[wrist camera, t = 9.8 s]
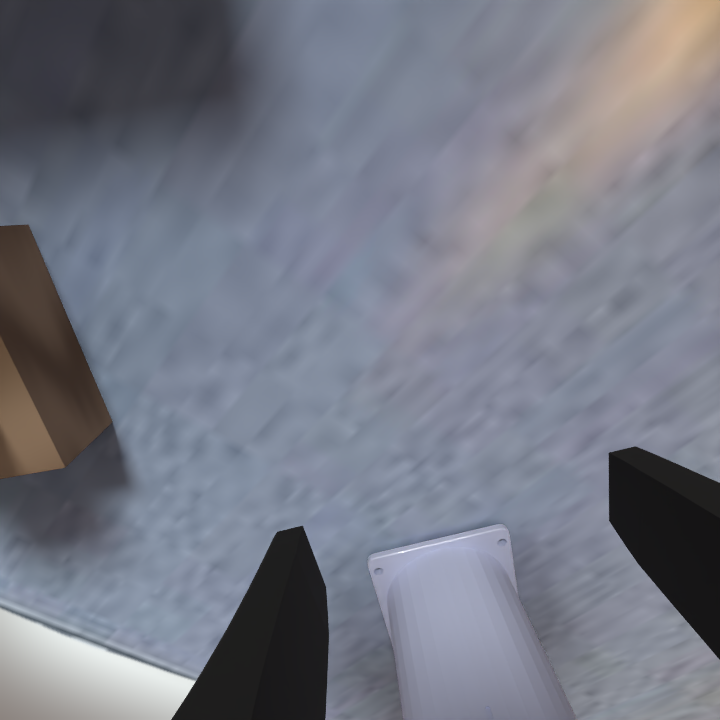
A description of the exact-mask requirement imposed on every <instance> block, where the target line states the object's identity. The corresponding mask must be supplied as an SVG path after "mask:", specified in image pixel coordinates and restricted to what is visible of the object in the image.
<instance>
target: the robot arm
mask: <svg viewBox="0 0 720 720" xmlns="http://www.w3.org/2000/svg"><path fill="white" fill-rule="evenodd" d="M609 521H610V523H611V524H612V526H613V527H614V529H615V530H616V532H617V533H618V535H619V536H620V538H621V539H622V541H623V542H624V544H625V545H626V547H627V548H628V550H629V551H630V553H631V554H632V555H633V557H634V558H635V560H636V561H637V563H638V564H639V565H640V566H641V568H642V569H643V570H644V571H645V572H646V574H647V575H648V576H649V577H650V578H651V580H652V581H653V582H654V583H655V584H656V586H657V587H658V588H659V589H660V590H661V591H662V593H663V594H664V595H665V596H666V597H667V599H668V600H669V601H670V602H671V603H672V604H673V606H674V607H675V608H676V609H677V610H678V611H679V613H680V614H681V615H682V616H683V617H684V618H685V620H686V621H687V622H688V623H689V624H690V625H691V627H692V628H693V629H694V630H695V631H696V632H697V634H698V635H699V636H700V637H701V638H702V639H703V641H704V642H705V643H706V644H707V645H708V646H709V648H710V649H711V650H712V651H713V652H714V653H715V655H716V656H717V657H718V658H719V659H720V483H719V482H716V481H714V480H712V479H710V478H707V477H705V476H703V475H700V474H698V473H696V472H694V471H691V470H689V469H687V468H685V467H682V466H680V465H678V464H676V463H673V462H671V461H669V460H667V459H664V458H662V457H660V456H657V455H655V454H653V453H650V452H648V451H645V450H643V449H640V448H638V447H631V448H627V449H623V450H618V451H614V452H610V453H609ZM500 539H502V540H501V541H499V540H500ZM367 563H368V569H369V572H370V575H371V578H372V582H373V585H374V588H375V591H376V595H377V598H378V601H379V604H380V607H381V611H382V614H383V617H384V620H385V624H386V627H387V630H388V633H389V637H390V640H391V643H392V646H393V649H394V656H395V663H396V671H397V678H398V685H399V692H400V700H401V707H402V714H403V720H577V718H576V716H575V714H574V712H573V710H572V708H571V706H570V703H569V701H568V699H567V697H566V695H565V693H564V691H563V689H562V687H561V685H560V683H559V680H558V678H557V676H556V674H555V672H554V670H553V668H552V666H551V664H550V662H549V660H548V657H547V655H546V653H545V651H544V649H543V647H542V645H541V643H540V641H539V639H538V637H537V634H536V632H535V630H534V628H533V626H532V624H531V622H530V620H529V618H528V616H527V614H526V611H525V609H524V607H523V605H522V603H521V601H520V599H519V597H518V590H517V583H516V576H515V569H514V562H513V554H512V547H511V540H510V533H509V531H508V529H507V527H506V526H505V525H503V524H497V525H492V526H488V527H484V528H480V529H475V530H471V531H467V532H463V533H458V534H454V535H450V536H446V537H441V538H437V539H433V540H429V541H424V542H420V543H416V544H412V545H408V546H403V547H399V548H395V549H391V550H386V551H382V552H378V553H374V554H371V555H370V556H369V557H368V559H367ZM377 568H381V569H377ZM328 645H329V628H328V610H327V595H326V586H325V583H324V581H323V578H322V575H321V573H320V570H319V567H318V565H317V562H316V560H315V557H314V554H313V552H312V549H311V546H310V544H309V541H308V538H307V536H306V533H305V530H304V528H303V526H300V527H295V528H291V529H287V530H283V531H279V532H277V533H276V535H275V536H274V538H273V540H272V542H271V544H270V546H269V548H268V550H267V553H266V555H265V557H264V559H263V561H262V563H261V565H260V567H259V569H258V571H257V573H256V575H255V577H254V579H253V581H252V583H251V585H250V587H249V589H248V591H247V593H246V594H245V596H244V598H243V600H242V602H241V604H240V606H239V607H238V609H237V611H236V613H235V615H234V617H233V619H232V621H231V622H230V624H229V626H228V628H227V630H226V631H225V633H224V635H223V637H222V638H221V640H220V642H219V644H218V645H217V647H216V649H215V650H214V652H213V654H212V655H211V657H210V659H209V661H208V662H207V664H206V666H205V667H204V669H203V671H202V672H201V674H200V676H199V677H198V679H197V681H196V682H195V684H194V685H193V687H192V689H191V690H190V692H189V693H188V695H187V697H186V698H185V700H184V701H183V703H182V704H181V706H180V707H179V709H178V710H177V712H176V713H175V715H174V716H173V718H172V719H171V720H325V714H326V693H327V670H328Z"/></svg>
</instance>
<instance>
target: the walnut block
mask: <svg viewBox="0 0 720 720" xmlns="http://www.w3.org/2000/svg"><path fill="white" fill-rule="evenodd" d="M111 423H112V419H111V417H110V415H109V412H108V410H107V408H106V405H105V403H104V401H103V398H102V396H101V394H100V391H99V389H98V387H97V384H96V382H95V380H94V377H93V375H92V373H91V370H90V368H89V366H88V363H87V361H86V359H85V356H84V354H83V352H82V349H81V347H80V344H79V342H78V340H77V337H76V335H75V333H74V330H73V328H72V326H71V323H70V321H69V319H68V316H67V314H66V312H65V309H64V307H63V305H62V302H61V300H60V298H59V295H58V293H57V291H56V288H55V286H54V284H53V281H52V279H51V277H50V274H49V272H48V270H47V267H46V265H45V262H44V260H43V258H42V255H41V253H40V251H39V248H38V246H37V244H36V241H35V239H34V237H33V234H32V232H31V230H30V227H29V225H11V226H0V479H3V478H9V477H15V476H20V475H26V474H32V473H37V472H43V471H49V470H55V469H60V468H65V467H66V466H68V465H69V464H70V463H71V462H72V461H73V460H74V459H75V458H76V457H77V456H78V455H79V454H80V453H81V452H82V451H83V450H84V449H85V448H86V447H87V446H88V445H89V444H90V443H91V442H92V441H93V440H94V439H96V438H97V437H98V436H99V435H100V434H101V433H102V432H103V431H104V430H105V429H106V428H107V427H108V426H109V425H110V424H111Z"/></svg>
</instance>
